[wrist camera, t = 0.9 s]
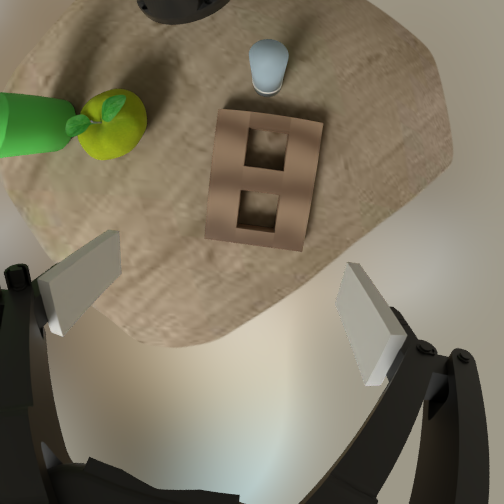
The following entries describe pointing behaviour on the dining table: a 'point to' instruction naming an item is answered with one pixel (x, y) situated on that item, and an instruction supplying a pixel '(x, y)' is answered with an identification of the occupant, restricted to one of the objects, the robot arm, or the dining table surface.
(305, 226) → the board
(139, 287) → the dining table surface
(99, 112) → the fruit
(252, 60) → the peg
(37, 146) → the bottle
